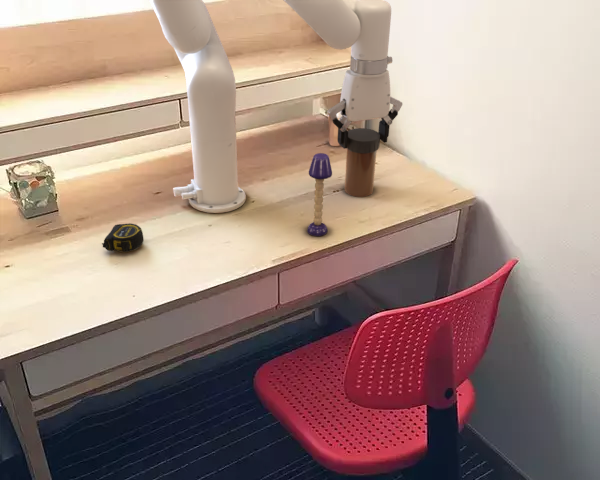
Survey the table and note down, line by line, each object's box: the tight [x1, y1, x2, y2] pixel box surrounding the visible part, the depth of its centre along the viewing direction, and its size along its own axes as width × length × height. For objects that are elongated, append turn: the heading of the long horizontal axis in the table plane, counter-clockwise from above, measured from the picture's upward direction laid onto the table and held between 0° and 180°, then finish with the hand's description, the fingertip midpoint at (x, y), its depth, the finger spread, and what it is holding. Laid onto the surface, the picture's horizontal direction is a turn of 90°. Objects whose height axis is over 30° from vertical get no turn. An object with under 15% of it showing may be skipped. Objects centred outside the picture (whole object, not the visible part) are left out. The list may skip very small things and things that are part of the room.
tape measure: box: [101, 222, 144, 253], centre depth 134 cm, size 7×7×4 cm
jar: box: [344, 148, 378, 198], centre depth 153 cm, size 7×7×13 cm
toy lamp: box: [306, 152, 333, 237], centre depth 136 cm, size 5×5×17 cm
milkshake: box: [327, 112, 342, 147], centre depth 175 cm, size 4×5×10 cm
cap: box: [346, 127, 381, 153], centre depth 150 cm, size 8×8×3 cm
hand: (362, 143), depth 150 cm, fingers open, 9 cm apart
